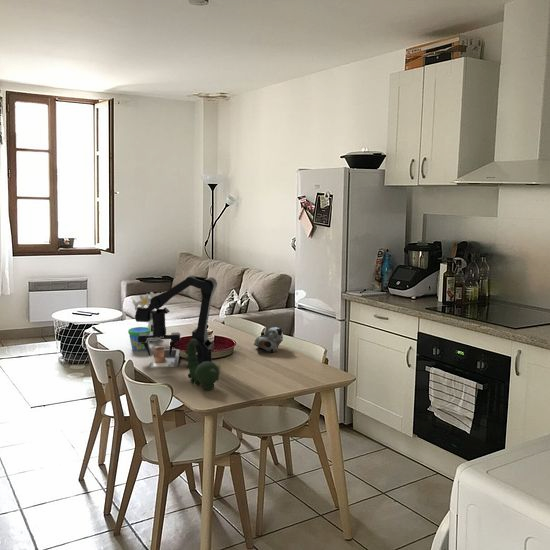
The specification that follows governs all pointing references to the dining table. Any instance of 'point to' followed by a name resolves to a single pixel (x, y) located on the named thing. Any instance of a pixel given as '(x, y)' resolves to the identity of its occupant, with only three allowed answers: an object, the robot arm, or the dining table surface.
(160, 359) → the terracotta block
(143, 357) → the dining table surface
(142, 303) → the flower vase
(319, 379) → the dining table surface
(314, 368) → the dining table surface
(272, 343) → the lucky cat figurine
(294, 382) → the dining table surface
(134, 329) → the snack cup
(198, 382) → the toy figurine
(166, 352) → the two-wall tray
